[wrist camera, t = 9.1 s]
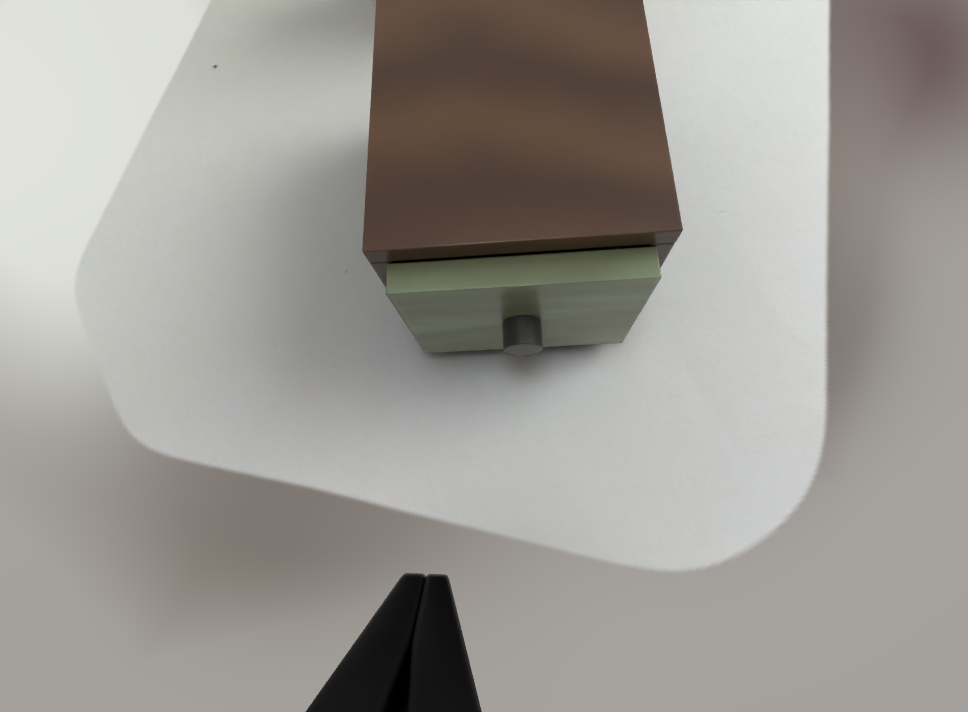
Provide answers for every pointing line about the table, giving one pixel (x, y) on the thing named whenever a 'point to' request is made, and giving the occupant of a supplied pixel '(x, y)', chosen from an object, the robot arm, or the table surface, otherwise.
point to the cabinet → (514, 131)
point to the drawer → (523, 298)
